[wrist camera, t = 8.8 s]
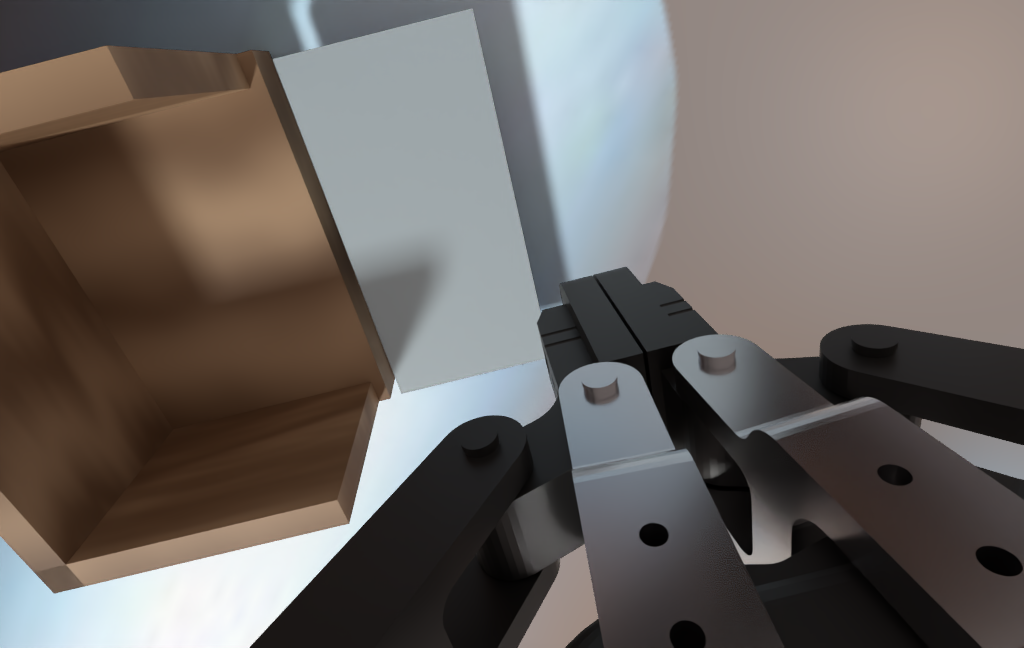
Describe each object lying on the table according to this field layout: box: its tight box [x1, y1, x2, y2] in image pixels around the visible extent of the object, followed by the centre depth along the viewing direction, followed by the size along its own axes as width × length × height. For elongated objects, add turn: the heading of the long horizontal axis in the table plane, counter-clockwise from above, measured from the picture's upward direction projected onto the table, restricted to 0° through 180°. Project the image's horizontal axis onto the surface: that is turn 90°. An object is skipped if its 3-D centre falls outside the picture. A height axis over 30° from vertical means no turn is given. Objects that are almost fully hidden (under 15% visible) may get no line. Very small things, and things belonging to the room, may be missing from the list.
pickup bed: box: [0, 46, 395, 593], centre depth 21 cm, size 16×12×10 cm
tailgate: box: [273, 8, 545, 394], centre depth 23 cm, size 15×2×8 cm
